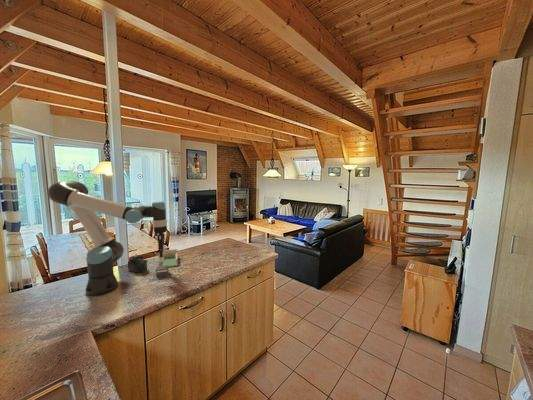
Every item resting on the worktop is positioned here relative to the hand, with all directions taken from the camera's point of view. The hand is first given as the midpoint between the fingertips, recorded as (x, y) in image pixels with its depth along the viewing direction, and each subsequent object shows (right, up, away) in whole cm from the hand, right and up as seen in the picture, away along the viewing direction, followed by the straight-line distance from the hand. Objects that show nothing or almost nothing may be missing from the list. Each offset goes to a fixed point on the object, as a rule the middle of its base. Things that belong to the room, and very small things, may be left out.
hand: (162, 258), depth 152 cm
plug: (0, -11, +1) cm, 11 cm away
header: (-5, -9, +22) cm, 24 cm away
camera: (-20, -10, +8) cm, 24 cm away
